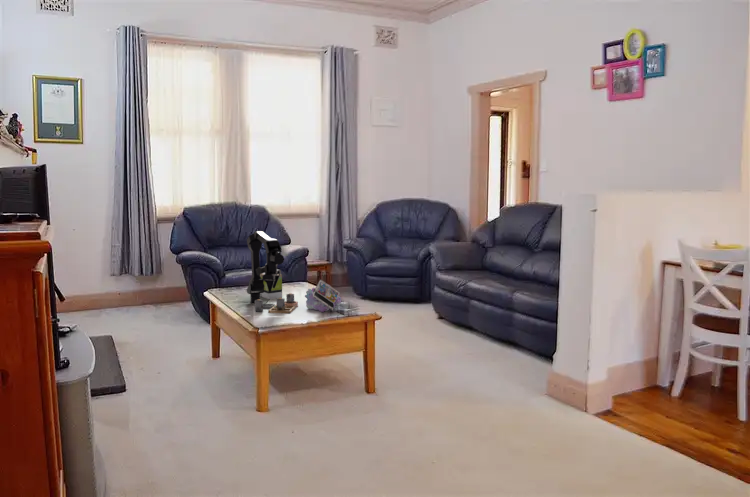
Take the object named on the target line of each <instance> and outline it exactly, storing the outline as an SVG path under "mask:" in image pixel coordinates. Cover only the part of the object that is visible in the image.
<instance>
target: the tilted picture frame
mask: <svg viewBox="0 0 750 497" xmlns="http://www.w3.org/2000/svg"><path fill="white" fill-rule="evenodd" d="M305 293H306V294H305V295H304V297H305V298H306V301H305V304H306V306H305V307H306V308H307V309H308V310H311V311H312V310H315V311H317V312H318V311H319V312H321V313H324V312H326V311H330V310H332V311H334V309H338V308H339V307H340V306H341V303H342V298H341V296H340V294H341V293H340V291H338V290H336V289H335V288H334V287H332V286H331V284H328V283H326V281H324V280H322V279H320V280H319V281H318V283H317V285H316V286H315V287H314V286H313V287H312V288H308V290H306V292H305Z"/></svg>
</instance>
